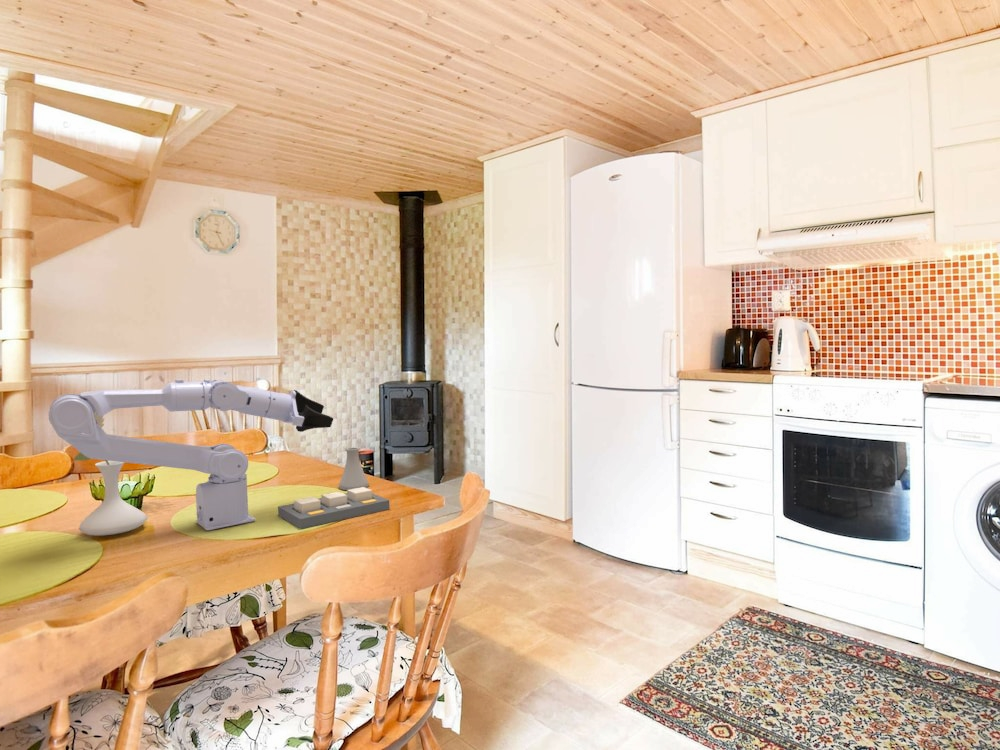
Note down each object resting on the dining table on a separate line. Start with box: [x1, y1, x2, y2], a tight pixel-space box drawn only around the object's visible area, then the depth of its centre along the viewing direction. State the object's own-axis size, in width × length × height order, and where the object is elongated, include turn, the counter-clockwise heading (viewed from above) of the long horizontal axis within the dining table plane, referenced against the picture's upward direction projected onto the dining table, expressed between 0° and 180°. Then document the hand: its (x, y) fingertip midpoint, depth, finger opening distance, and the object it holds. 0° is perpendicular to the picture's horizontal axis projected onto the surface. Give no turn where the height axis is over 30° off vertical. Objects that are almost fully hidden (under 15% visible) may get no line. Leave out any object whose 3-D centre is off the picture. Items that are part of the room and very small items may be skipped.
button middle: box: [321, 491, 347, 508], centre depth 131 cm, size 4×4×2 cm
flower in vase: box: [73, 412, 148, 537], centre depth 119 cm, size 13×11×25 cm
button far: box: [346, 487, 373, 502], centre depth 135 cm, size 4×4×2 cm
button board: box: [277, 492, 391, 530], centre depth 131 cm, size 20×12×2 cm, turn 130°
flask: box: [338, 446, 370, 491], centre depth 152 cm, size 7×7×10 cm
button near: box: [293, 496, 321, 513], centre depth 127 cm, size 4×4×2 cm
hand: (326, 416), depth 137 cm, fingers open, 7 cm apart
